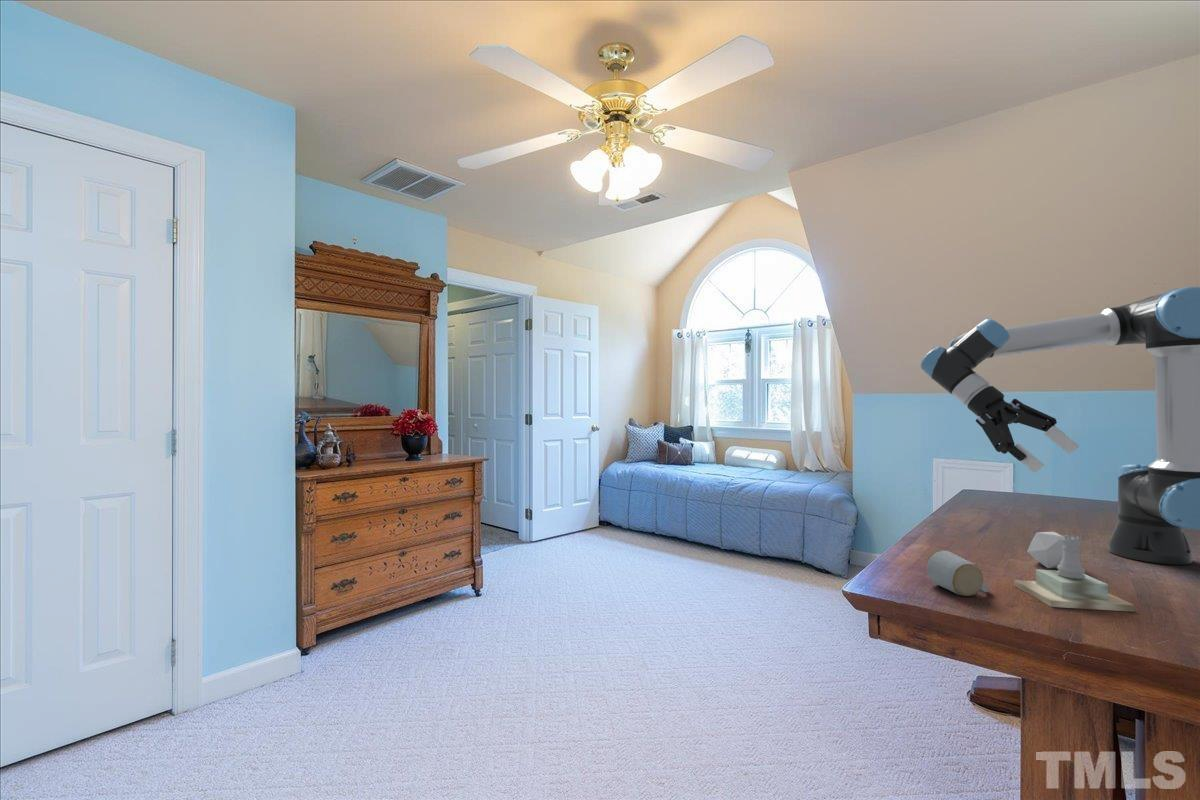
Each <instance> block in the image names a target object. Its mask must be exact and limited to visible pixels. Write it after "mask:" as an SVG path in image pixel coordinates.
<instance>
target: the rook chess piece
mask: <svg viewBox="0 0 1200 800" xmlns="http://www.w3.org/2000/svg"><path fill="white" fill-rule="evenodd" d="M1062 536H1063V538H1062V539H1061V541H1062V542H1063V543H1064V546H1063V547H1062V548H1063V557H1062V560H1061V562H1060V564H1059V565H1058V566H1057V568H1056V569H1058V570H1057V573H1058V575H1059V576H1061V577H1064V578H1068V579H1075V580H1082V579H1084V578H1085V575H1083V574H1086V570H1085V568H1084V567H1083V565H1082V563H1081V560H1080V551H1081V549H1080V546H1081V545H1082V543H1083V542H1082V541H1081V539H1080V536H1076V535H1071V536H1070V534H1063V535H1062Z"/></svg>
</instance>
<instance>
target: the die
mask: <svg viewBox="0 0 1200 800" xmlns="http://www.w3.org/2000/svg"><path fill="white" fill-rule="evenodd" d="M1062 538H1063V535H1061V534H1060V533H1057V532H1055V531H1040V532H1035V534H1034V536H1033V539H1032V540H1031V542H1030V545H1029V546H1028V549H1027V551H1026V552H1027V553H1028V554H1029V555H1031V557H1032V558H1034V560H1035V561H1037V562H1038V563H1039V564H1041V565H1042V566H1043V567H1045V568H1047V569H1058V568H1057V566H1058V565H1059V564H1060V562H1061V560H1062V557H1063V548H1062V547H1063V546H1064V543H1063V542H1062V541H1061V539H1062Z"/></svg>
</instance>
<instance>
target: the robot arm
mask: <svg viewBox="0 0 1200 800" xmlns="http://www.w3.org/2000/svg"><path fill="white" fill-rule="evenodd" d="M1098 344H1105V345H1107V346H1110V347H1113V346H1121V345H1135V344H1136V345H1139V344H1145V351H1146V352H1148V353H1149V354H1150V355H1152V356H1153V357H1154V370H1155V371H1154V372H1155V375H1154V376H1155V379H1154V380H1155V417H1156V420H1155V422H1156V424H1155V426H1156V459H1155V460H1154V461H1153V462H1151V463H1150V464H1136V463H1135V464H1129V463H1128V464H1123V465H1121V466H1120V467H1119V471H1118V476H1117V480H1118V483H1117V485H1118V488H1117V489H1118V490H1117V491H1118V492H1117V493H1118V494H1117V495H1118V496H1117V505H1118V506H1117V510H1118V511H1117V515H1118V516H1117V523H1116V526H1115V528H1114V529H1113V531H1112V534H1111V536H1110V538H1109V541H1108V548H1107V549H1108V550H1107V551H1108V552H1109V553H1110V554H1114V555H1117V556H1120V557H1123V558H1127V559H1131V560H1137V561H1141V562H1148V563H1154V564H1163V565H1174V566H1175V565H1176V566H1177V565H1178V566H1179V565H1181V566H1182V565H1183V566H1184V565H1191V564H1192V563H1193V552H1192V550H1191V548H1190V545H1189V542H1188V540H1187V537H1186V536H1185V532H1184V530H1183V529H1188V530H1193V531H1200V286H1186V287H1181V288H1180V287H1179V288H1173V289H1171V290H1168V291H1167V292H1162V293H1159V294H1156V295H1152V296H1149V297H1146V298H1143V299H1139V300H1138V301H1134V302H1131V303H1127V304H1123V305H1120V306H1114V307H1109V308H1105V309H1103V310H1102V311H1101V312H1100V313H1096V314H1089V315H1088V314H1087V315H1081V316H1076V317H1069V318H1068V317H1067V318H1062V319H1057V320H1056V319H1055V320H1048V321H1042V322H1035V323H1028V324H1023V325H1014V326H1008V327H1004V326H1003V325H1002V324H1001V323H999V322H998V321H996V320H994V319H992V318H985V319H983V321H981V322H980V323H978V324H976V326H975V327H974V328H972V329H971V330H970V331H967V332H965V333H963V334H958V335H955V336H954V338H953V339H952V340H951V341H950V343H949V345H948V349H947V347H946V348H945V347H943V346H937V347H935V348H934V349H931V350H929V352H928V353H926V354H925V356H924V357H923V358H922V360H921V362H920V368H921V370H922V371H923V372H924V373H925V374H927V375H928V376H929V377H930V378H931V380H933V381H934V382H936V383H937V384H938V385H939V386H941V387H942V388H943V389H944V390H945V391H946V392H948V393H949V394H951V395H952V396H953V397H954V398H955V399H957V400H958V401H959V402H960V403H961V404H963V406H967V407H966V408H967V409H969V411H971V412H972V414H974V415H975V416H976V417H977V418H976V419H975V422H976V423H977V424H978V426H980V427H981V428H982V430H983V432H984V434H985V435H986V437H987V439H988V440H989V441H990V443H991V445H992V447H993V448H994V449H995V451H996V452H998V453H1001V454H1004V455H1005V454H1007V453H1009V454H1010V455H1011V456H1012V457H1014V458H1015V459H1016V460H1017V461H1019V462H1021V463H1022V464H1023V465H1025V466H1026V468H1028V469H1029V470H1030V471H1031V472H1032V473H1034V474H1036V473H1037V472H1038V471H1040V469H1041V468H1043V467H1044V466H1045V464H1044V463H1043V462H1042V461H1041V460H1040V459H1038V458H1037V457H1036V456H1034V455H1033V454H1032V453H1031V452H1030V451H1029V450H1027V449H1026V448H1025V447H1024V446H1022V445H1021V444H1020V443H1016V445H1015V441H1014V438H1013V436H1012V435H1013V434H1012V432H1011V429H1010V427H1009V425H1011V424H1021V425H1024V426H1026V427H1031V428H1033V429H1036V430H1040V431H1043V432H1044V435H1045V436H1046V437H1047V438H1048V439H1050V441H1052V442H1054V443H1055V444H1056V445H1058V446H1059V447H1060V448H1061V449H1062V450H1064V451H1065V452H1067V454H1069V455H1070V454H1072V453H1074V451H1075V450H1077V449H1078V448H1079V447H1080V445H1079V444H1078V443H1077V442H1075V441H1074V440H1073V439H1072V438H1070V437H1069V436H1068V435H1066V433H1064V432H1063V431H1062V430H1060V429H1059V428H1058V427H1056V424H1057V423H1058V422H1057V419H1056V417H1053V416H1051V415H1049V414H1047V413H1044V412H1042V411H1040V410H1037V409H1035V408H1033V407H1031V406H1028V405H1026V404H1025V403H1023V402H1021V401H1020V400H1018V399H1017V398H1013V399H1012V400H1011V401H1010V402H1007V401H1006V400H1004V398H1005V394H1004V393H1003V392H1001V391H1000V390H999V389H998V388H996V387H995V386H993V385H990V382H989V381H988V380H986V379H985V378H983V377H982V376H981V375H980V374H978V373H977V372H976V371H974V369H975V368H976V367H978V365H980V364H981V363H982V362H983V361H985V360H986V359H990V358H999V357H1007V356H1014V355H1021V354H1027V353H1028V354H1029V353H1036V352H1044V351H1052V350H1060V349H1066V348H1074V347H1084V346H1091V345H1098Z"/></svg>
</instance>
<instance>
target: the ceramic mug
mask: <svg viewBox="0 0 1200 800" xmlns="http://www.w3.org/2000/svg"><path fill="white" fill-rule="evenodd" d="M926 571H927V572H926V573H927V575H928V578H929V580H930V581H931V582H933V583H934V585H937V586H939V587H941V588H944V589H945V590H948V591H950V592H951V593H954V594H955V595H958V596H962V597H972V596H973V595H974V596H975V595H976V594H978V593H979V591H981V592H983V593H985V594H986V593H988V592H989V590H990V587H991V586H989V585H987V584H986V583H984V575H983V573H982V570H981V569H980V568H979V567H978V566H977V565H976V564H974V563H973V562H972V561H970V560H967V559H965V558H963V557H962V556H959V555H957V554H955V553H953V552H951V551H948V550H940V551H937V552H935V553H934V554H933V555H932V556H931V557H930V558H929V561H928V562H927V566H926Z"/></svg>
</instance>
